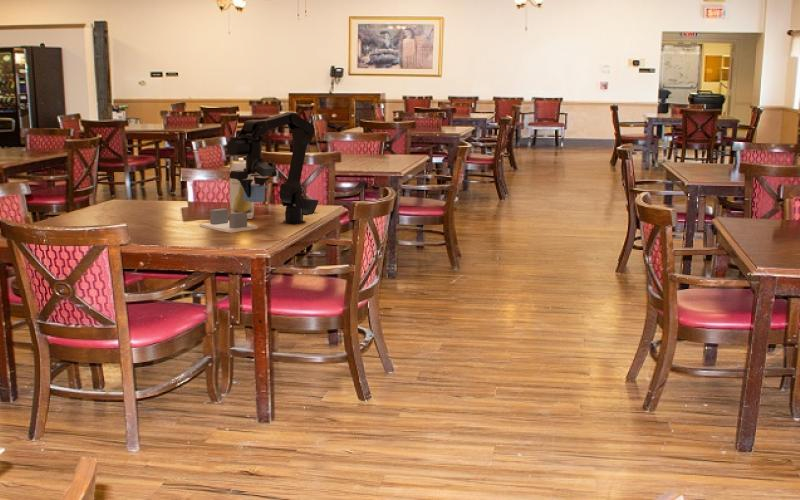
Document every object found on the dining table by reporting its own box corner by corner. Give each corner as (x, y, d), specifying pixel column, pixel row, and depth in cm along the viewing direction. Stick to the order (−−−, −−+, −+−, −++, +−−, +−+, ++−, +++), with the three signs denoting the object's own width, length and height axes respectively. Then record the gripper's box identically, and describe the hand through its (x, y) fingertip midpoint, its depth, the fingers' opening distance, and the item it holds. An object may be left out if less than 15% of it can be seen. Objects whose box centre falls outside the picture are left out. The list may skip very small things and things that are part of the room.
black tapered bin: (282, 210, 366) (292, 189, 370) (287, 218, 372) (296, 198, 376) (307, 216, 362) (316, 195, 366) (312, 224, 369) (321, 204, 372)
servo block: (248, 199, 333) (248, 182, 331) (268, 202, 326) (268, 184, 325) (239, 200, 329) (239, 182, 328) (259, 203, 322) (259, 185, 321)
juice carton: (231, 219, 348) (230, 159, 343) (229, 216, 356) (228, 157, 351) (255, 219, 351) (254, 159, 346) (252, 216, 358) (252, 157, 353)
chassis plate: (227, 222, 341) (227, 206, 340) (257, 228, 330) (257, 212, 329) (199, 226, 332) (199, 210, 330) (230, 232, 320) (230, 216, 319)
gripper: (249, 157, 312) (249, 201, 315) (287, 155, 327) (287, 197, 330) (228, 155, 319) (228, 198, 322) (266, 153, 333) (266, 194, 336)
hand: (253, 196), depth 327 cm, fingers closed on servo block, 4 cm apart
